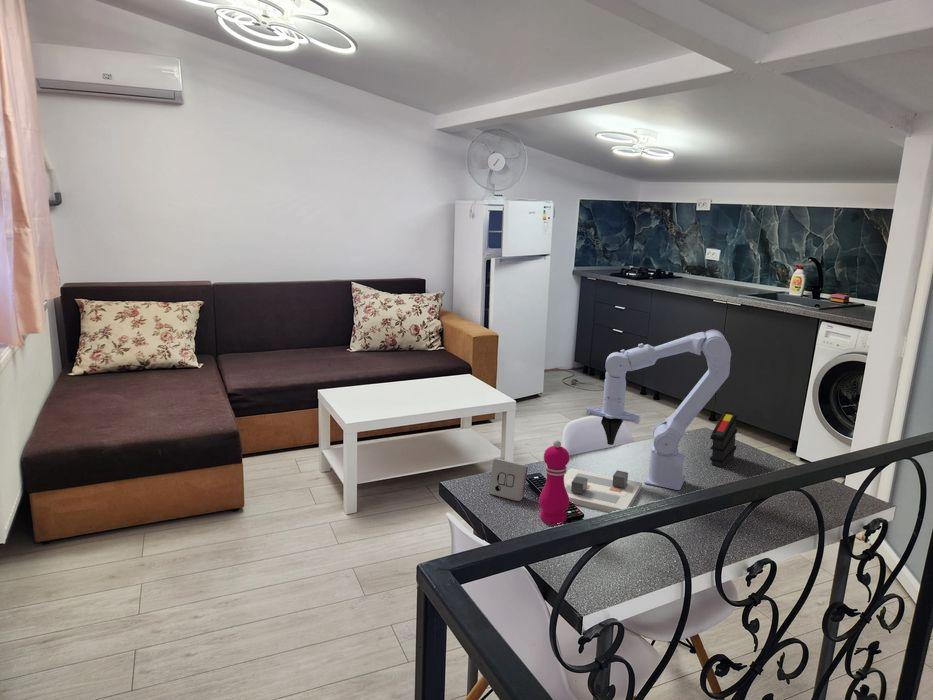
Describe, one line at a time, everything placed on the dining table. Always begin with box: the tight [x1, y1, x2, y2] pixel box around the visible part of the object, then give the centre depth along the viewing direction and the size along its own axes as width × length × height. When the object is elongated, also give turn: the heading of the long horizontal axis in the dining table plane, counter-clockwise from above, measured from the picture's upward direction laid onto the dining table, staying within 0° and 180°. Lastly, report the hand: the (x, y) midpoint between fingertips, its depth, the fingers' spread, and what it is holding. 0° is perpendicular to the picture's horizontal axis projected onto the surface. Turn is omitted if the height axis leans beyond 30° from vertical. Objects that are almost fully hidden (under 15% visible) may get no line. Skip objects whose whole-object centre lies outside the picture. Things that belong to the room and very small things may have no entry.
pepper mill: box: [538, 440, 570, 525], centre depth 157 cm, size 7×7×20 cm
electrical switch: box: [488, 458, 529, 502], centre depth 171 cm, size 9×5×9 cm, turn 60°
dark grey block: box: [612, 469, 629, 488], centre depth 174 cm, size 3×4×3 cm
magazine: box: [709, 410, 738, 468], centre depth 195 cm, size 4×13×15 cm, turn 140°
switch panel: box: [564, 467, 643, 513], centre depth 173 cm, size 20×18×2 cm
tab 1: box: [571, 476, 588, 494], centre depth 170 cm, size 3×4×3 cm
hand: (610, 443), depth 182 cm, fingers closed
